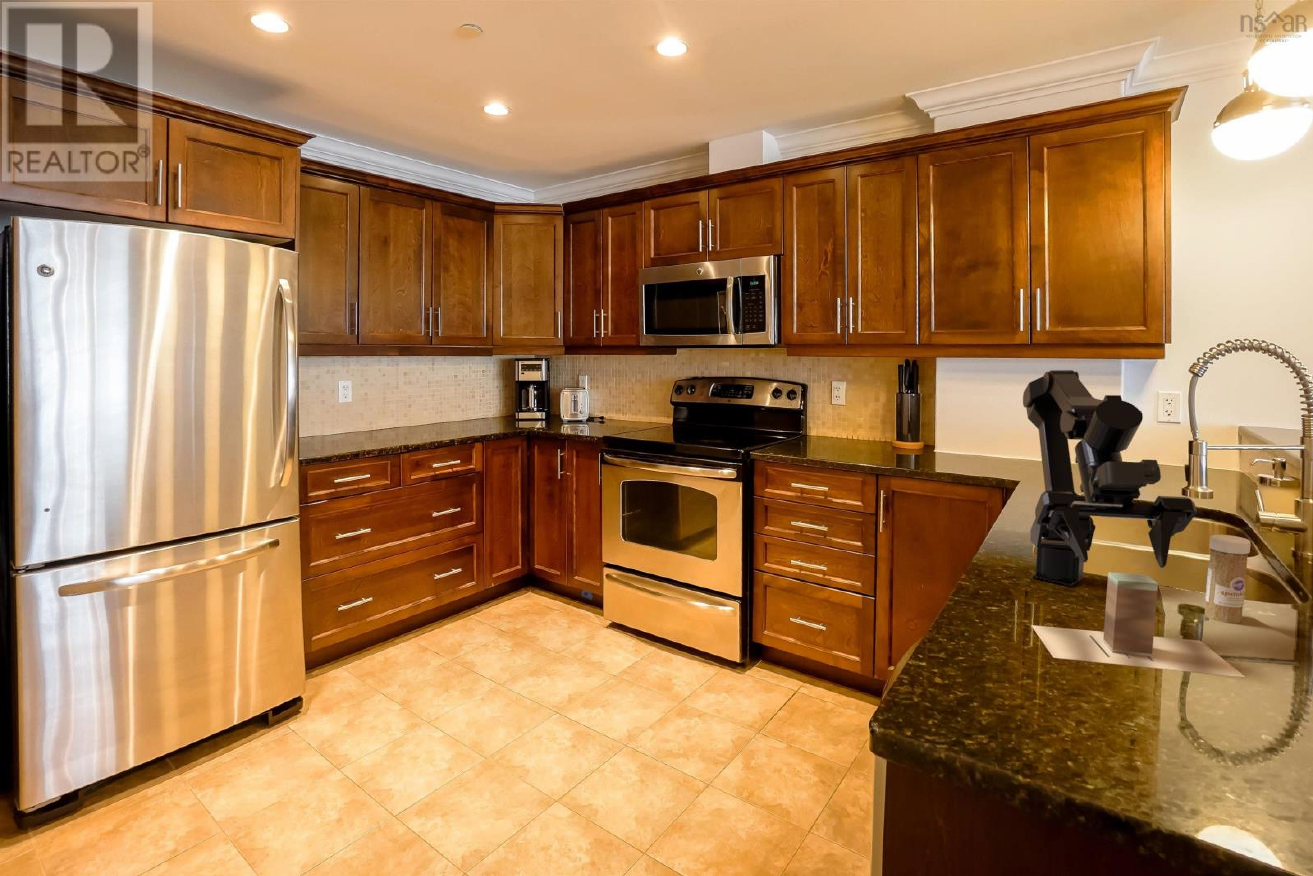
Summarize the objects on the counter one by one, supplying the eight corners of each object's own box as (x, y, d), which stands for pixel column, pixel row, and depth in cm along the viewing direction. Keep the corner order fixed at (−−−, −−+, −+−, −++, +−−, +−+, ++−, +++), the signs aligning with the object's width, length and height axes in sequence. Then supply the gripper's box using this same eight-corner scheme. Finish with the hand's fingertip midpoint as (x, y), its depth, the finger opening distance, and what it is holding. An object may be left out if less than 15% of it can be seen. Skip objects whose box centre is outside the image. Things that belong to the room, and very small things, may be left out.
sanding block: (1112, 652, 88) (1117, 580, 87) (1103, 641, 91) (1108, 572, 90) (1151, 656, 87) (1157, 583, 85) (1141, 645, 90) (1146, 575, 89)
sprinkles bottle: (1228, 631, 97) (1236, 542, 95) (1195, 620, 101) (1202, 535, 99) (1249, 627, 98) (1258, 540, 96) (1216, 616, 102) (1224, 532, 101)
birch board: (1053, 664, 87) (1053, 657, 87) (1031, 631, 97) (1031, 625, 97) (1244, 685, 81) (1245, 677, 81) (1199, 647, 92) (1200, 640, 91)
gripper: (1044, 437, 96) (1061, 529, 87) (1197, 440, 91) (1232, 539, 82) (1028, 480, 105) (1042, 568, 96) (1167, 485, 99) (1195, 579, 90)
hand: (1123, 563), depth 91 cm, fingers open, 9 cm apart
